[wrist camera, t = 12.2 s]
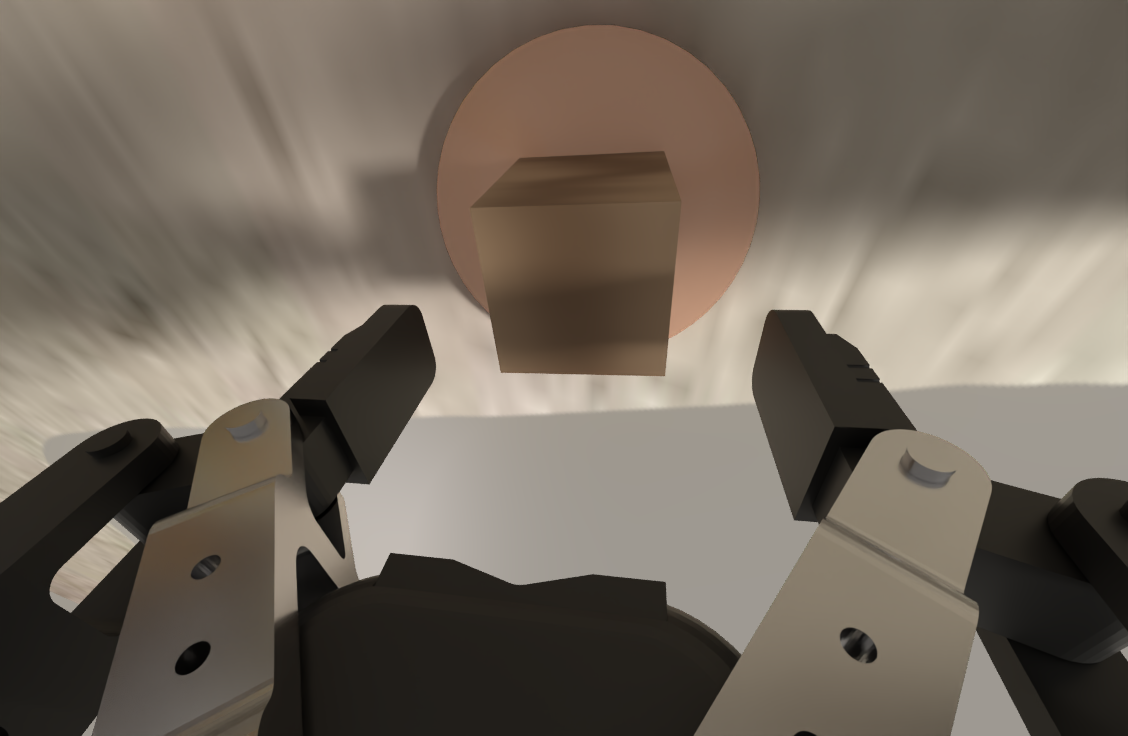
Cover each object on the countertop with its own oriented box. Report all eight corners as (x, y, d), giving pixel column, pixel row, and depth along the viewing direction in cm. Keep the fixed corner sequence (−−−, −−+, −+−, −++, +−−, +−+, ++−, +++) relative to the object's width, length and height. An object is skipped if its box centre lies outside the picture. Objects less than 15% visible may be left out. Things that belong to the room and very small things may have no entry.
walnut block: (664, 150, 14) (681, 201, 10) (654, 286, 17) (664, 376, 13) (519, 158, 15) (470, 208, 10) (534, 287, 18) (501, 372, 13)
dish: (785, 11, 13) (801, 7, 12) (722, 340, 20) (728, 358, 19) (416, 40, 15) (397, 40, 13) (477, 336, 22) (469, 353, 21)
